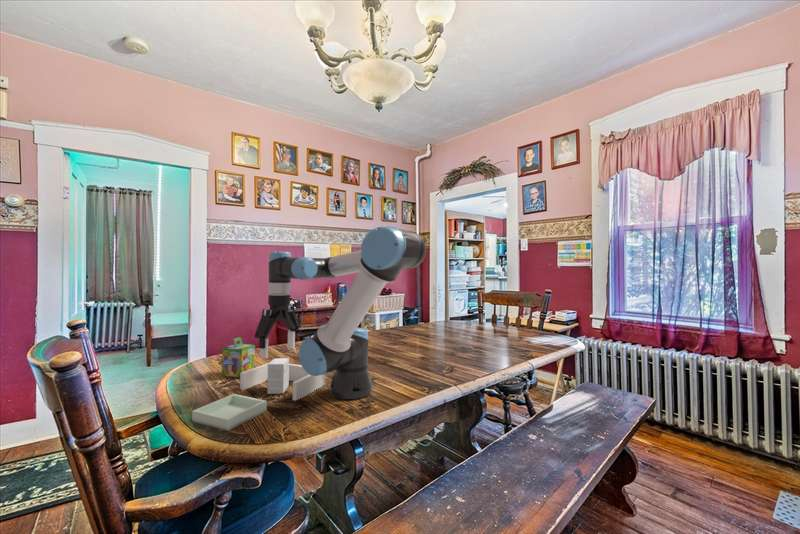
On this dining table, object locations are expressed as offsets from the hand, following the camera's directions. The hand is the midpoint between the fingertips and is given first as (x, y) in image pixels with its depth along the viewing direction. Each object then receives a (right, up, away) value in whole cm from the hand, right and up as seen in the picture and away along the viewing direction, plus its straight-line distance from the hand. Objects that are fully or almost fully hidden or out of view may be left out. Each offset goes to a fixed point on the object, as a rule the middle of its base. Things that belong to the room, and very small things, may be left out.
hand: (278, 352), depth 120 cm
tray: (-6, -13, -21) cm, 26 cm away
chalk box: (-22, -13, +16) cm, 31 cm away
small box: (0, -14, 0) cm, 14 cm away
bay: (+1, -13, +2) cm, 14 cm away
